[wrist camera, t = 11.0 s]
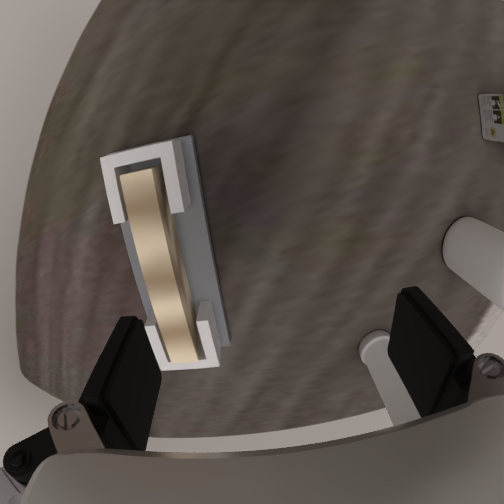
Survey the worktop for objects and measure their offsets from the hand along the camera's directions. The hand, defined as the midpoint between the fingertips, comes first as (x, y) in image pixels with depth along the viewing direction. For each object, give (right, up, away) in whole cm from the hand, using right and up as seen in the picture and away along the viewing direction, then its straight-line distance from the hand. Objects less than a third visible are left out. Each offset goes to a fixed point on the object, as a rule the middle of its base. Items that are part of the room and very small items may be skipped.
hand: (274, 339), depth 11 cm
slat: (-9, +2, +21) cm, 23 cm away
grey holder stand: (-9, +3, +23) cm, 25 cm away
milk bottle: (+27, +4, +24) cm, 37 cm away
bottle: (+16, -10, +29) cm, 34 cm away
